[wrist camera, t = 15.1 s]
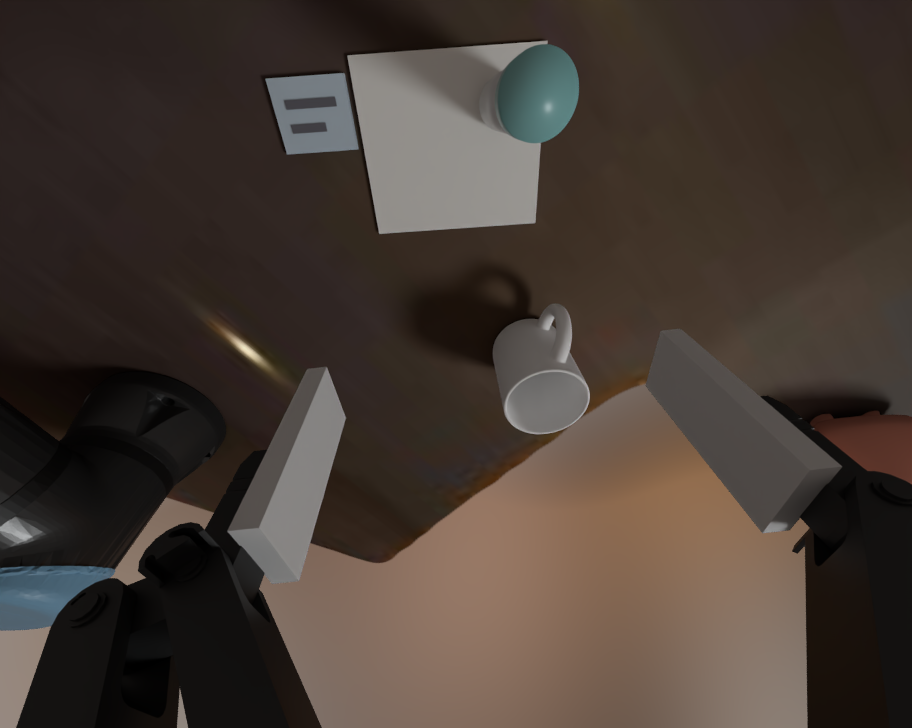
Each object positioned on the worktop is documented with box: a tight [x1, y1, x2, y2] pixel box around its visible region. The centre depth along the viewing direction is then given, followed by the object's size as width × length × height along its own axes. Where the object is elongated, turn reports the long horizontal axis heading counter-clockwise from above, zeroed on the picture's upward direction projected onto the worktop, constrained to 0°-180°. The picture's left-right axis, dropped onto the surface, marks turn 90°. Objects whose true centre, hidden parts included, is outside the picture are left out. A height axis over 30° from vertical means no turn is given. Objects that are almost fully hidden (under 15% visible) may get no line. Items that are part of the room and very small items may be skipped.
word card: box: [265, 73, 359, 154], centre depth 29 cm, size 6×5×1 cm
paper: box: [347, 41, 548, 234], centre depth 30 cm, size 15×13×1 cm
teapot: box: [810, 411, 912, 484], centre depth 48 cm, size 22×13×14 cm, turn 93°
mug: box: [493, 303, 590, 434], centre depth 37 cm, size 12×8×10 cm
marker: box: [479, 44, 579, 143], centre depth 23 cm, size 4×4×14 cm
